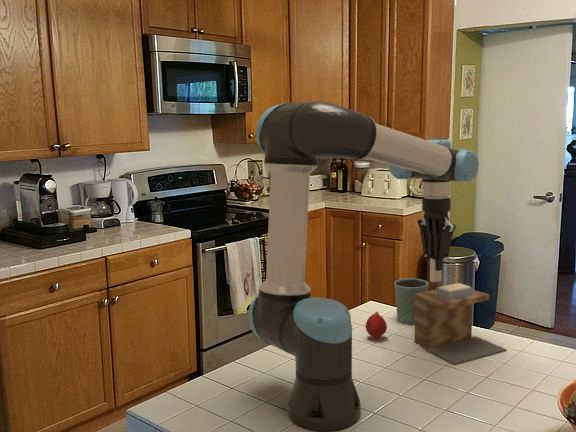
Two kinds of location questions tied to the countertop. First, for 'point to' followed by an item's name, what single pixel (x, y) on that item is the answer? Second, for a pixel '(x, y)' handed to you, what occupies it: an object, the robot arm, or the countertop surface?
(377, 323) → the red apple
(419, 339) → the brown flat-topped block
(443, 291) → the box
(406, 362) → the countertop surface
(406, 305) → the grey-green tapered bin
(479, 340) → the mat
